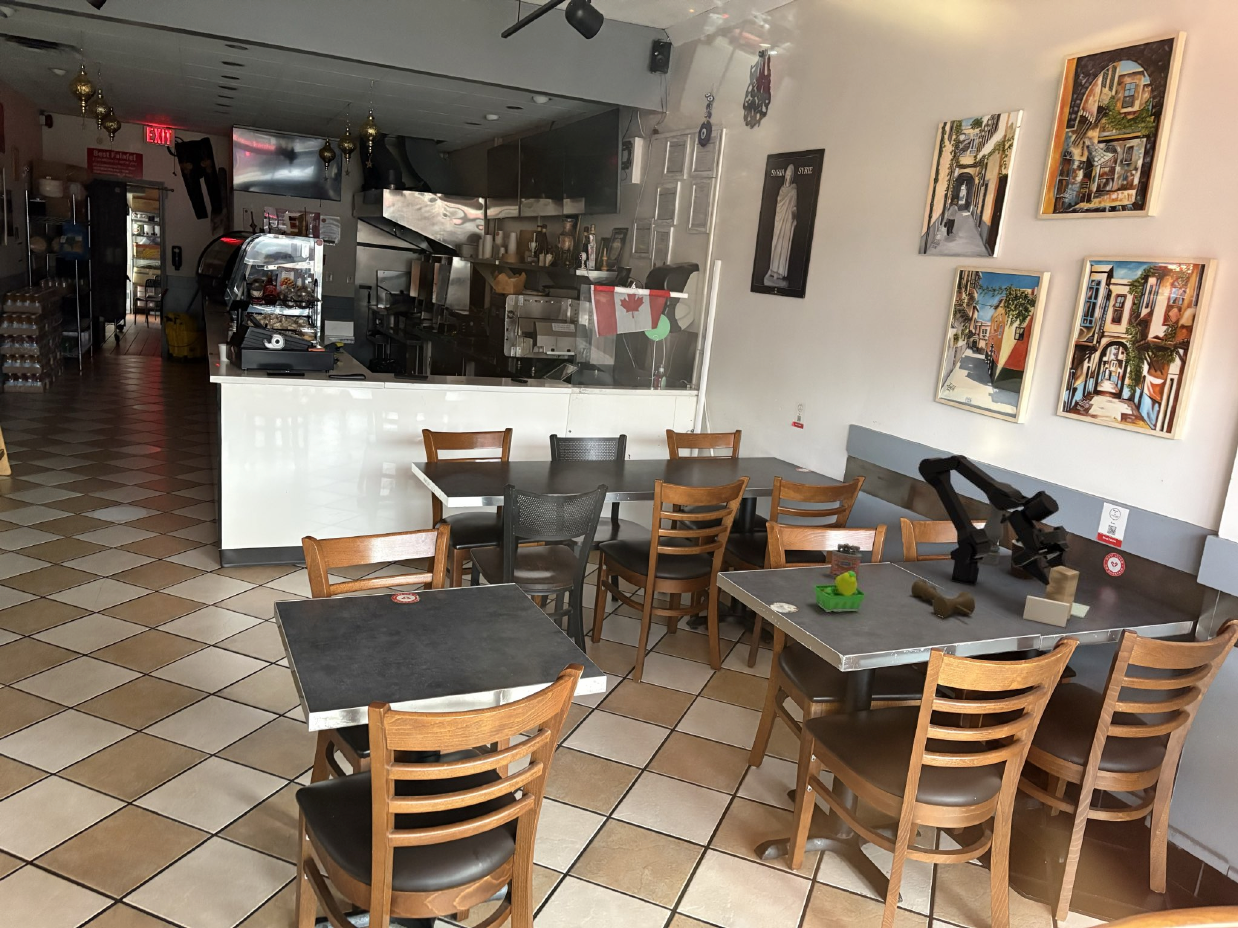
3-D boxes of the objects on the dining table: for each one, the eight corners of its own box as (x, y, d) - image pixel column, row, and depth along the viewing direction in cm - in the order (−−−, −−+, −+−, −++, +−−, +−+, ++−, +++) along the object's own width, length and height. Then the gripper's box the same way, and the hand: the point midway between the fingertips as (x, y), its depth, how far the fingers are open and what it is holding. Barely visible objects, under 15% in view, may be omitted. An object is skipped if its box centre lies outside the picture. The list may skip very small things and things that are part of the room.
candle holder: (999, 565, 276) (1014, 487, 270) (978, 563, 277) (993, 485, 271) (995, 559, 282) (1010, 483, 276) (975, 556, 283) (989, 480, 277)
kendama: (929, 595, 247) (984, 622, 229) (902, 599, 243) (955, 627, 225) (932, 575, 245) (987, 600, 228) (904, 578, 242) (958, 604, 224)
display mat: (1042, 607, 243) (1043, 605, 243) (1050, 597, 251) (1050, 596, 251) (1083, 618, 238) (1083, 616, 237) (1089, 608, 246) (1089, 606, 245)
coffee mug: (999, 571, 270) (1005, 540, 268) (1020, 569, 274) (1026, 538, 272) (1031, 585, 260) (1038, 553, 258) (1052, 583, 264) (1058, 551, 261)
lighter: (828, 577, 253) (833, 543, 251) (829, 573, 256) (834, 540, 254) (857, 582, 251) (862, 548, 248) (858, 578, 254) (863, 545, 252)
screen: (1023, 618, 234) (1027, 596, 233) (1023, 616, 235) (1027, 595, 234) (1065, 627, 230) (1069, 605, 229) (1064, 625, 231) (1069, 603, 230)
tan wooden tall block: (1041, 614, 238) (1050, 568, 235) (1051, 611, 241) (1061, 565, 238) (1059, 621, 234) (1068, 574, 231) (1069, 618, 237) (1079, 572, 234)
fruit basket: (848, 601, 236) (854, 561, 233) (867, 615, 227) (873, 573, 225) (810, 603, 232) (815, 562, 229) (827, 617, 224) (833, 574, 221)
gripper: (1030, 519, 231) (1063, 573, 225) (1069, 512, 242) (1101, 564, 236) (997, 539, 239) (1028, 592, 233) (1036, 531, 250) (1067, 582, 244)
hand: (1057, 582), depth 236 cm, fingers open, 9 cm apart
